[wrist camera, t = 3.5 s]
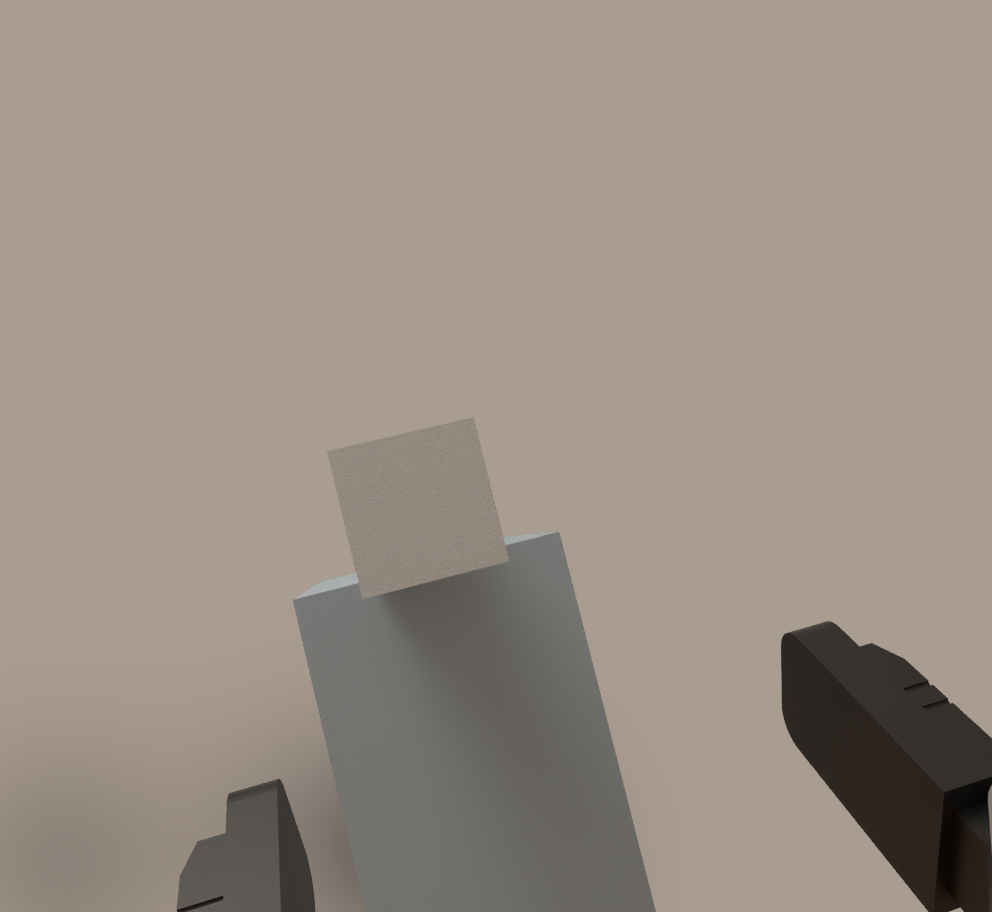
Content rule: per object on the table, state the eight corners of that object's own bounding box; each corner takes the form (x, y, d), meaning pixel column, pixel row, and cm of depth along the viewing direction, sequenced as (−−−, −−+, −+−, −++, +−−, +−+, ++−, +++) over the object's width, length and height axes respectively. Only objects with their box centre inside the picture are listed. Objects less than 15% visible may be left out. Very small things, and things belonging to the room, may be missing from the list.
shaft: (529, 556, 21) (483, 372, 21) (340, 604, 20) (296, 415, 21) (447, 549, 51) (429, 472, 51) (369, 569, 50) (351, 491, 50)
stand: (825, 1438, 31) (590, 524, 33) (486, 1589, 29) (261, 608, 31) (647, 1089, 50) (507, 533, 52) (439, 1165, 48) (304, 585, 50)
